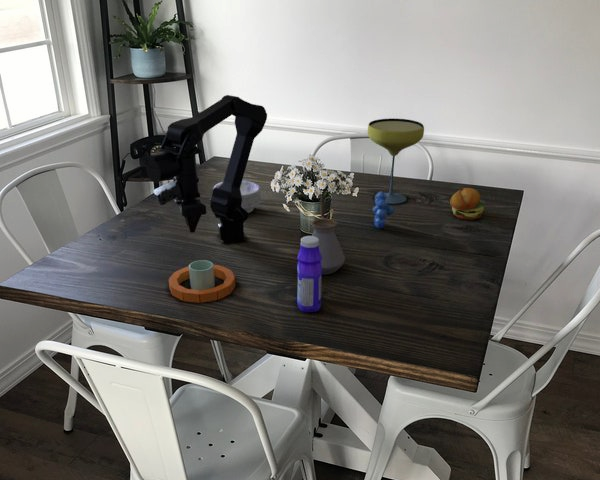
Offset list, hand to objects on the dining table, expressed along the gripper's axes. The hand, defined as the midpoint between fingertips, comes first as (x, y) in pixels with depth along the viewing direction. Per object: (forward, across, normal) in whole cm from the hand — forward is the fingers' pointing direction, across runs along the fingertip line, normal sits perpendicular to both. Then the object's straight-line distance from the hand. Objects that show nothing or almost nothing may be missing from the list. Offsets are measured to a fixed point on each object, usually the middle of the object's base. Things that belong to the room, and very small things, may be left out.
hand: (190, 228), depth 169 cm
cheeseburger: (+8, -2, +88) cm, 88 cm away
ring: (+8, +19, -1) cm, 21 cm away
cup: (+8, +19, -1) cm, 21 cm away
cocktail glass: (+8, -24, +72) cm, 76 cm away
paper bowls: (+8, -30, +20) cm, 37 cm away
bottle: (+8, +37, +21) cm, 43 cm away
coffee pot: (+8, +14, +33) cm, 37 cm away
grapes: (+8, -1, +58) cm, 59 cm away
